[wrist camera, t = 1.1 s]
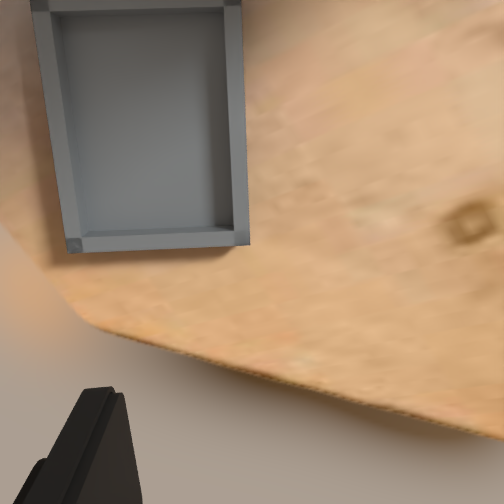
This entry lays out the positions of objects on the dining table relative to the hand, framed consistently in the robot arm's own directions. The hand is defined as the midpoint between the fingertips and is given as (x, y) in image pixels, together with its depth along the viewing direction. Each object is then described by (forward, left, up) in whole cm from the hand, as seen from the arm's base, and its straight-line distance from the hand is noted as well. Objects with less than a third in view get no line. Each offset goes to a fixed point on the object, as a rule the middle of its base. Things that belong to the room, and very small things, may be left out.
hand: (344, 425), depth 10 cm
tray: (-6, -8, -30) cm, 31 cm away
